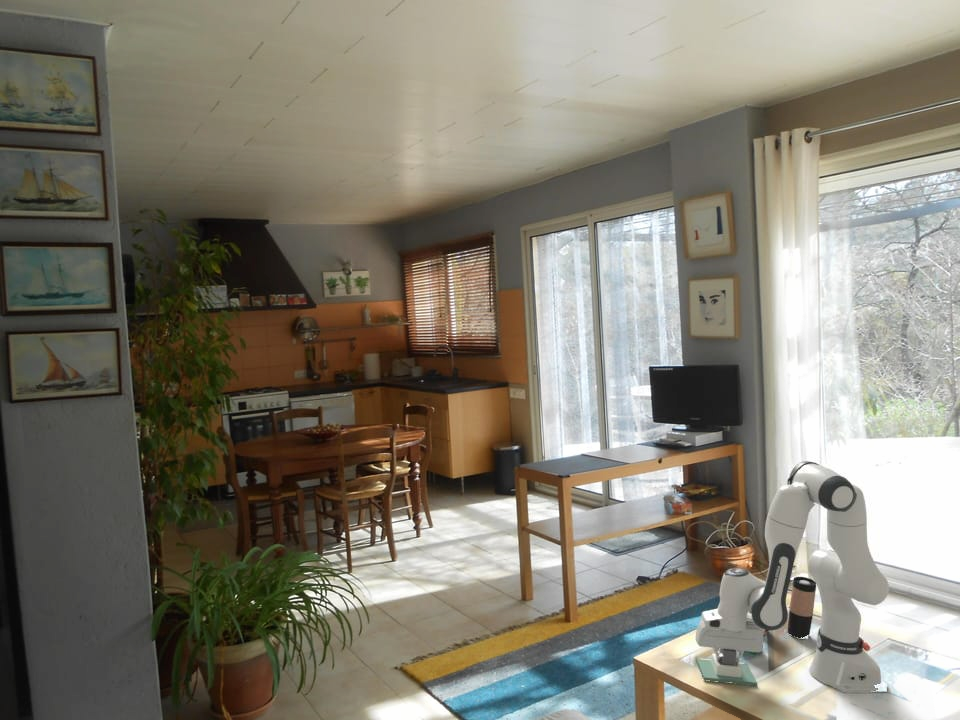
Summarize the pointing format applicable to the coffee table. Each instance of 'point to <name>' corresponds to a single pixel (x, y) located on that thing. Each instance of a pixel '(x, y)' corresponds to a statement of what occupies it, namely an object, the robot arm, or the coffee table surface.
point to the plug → (728, 657)
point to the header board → (725, 671)
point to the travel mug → (801, 606)
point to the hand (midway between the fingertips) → (726, 661)
